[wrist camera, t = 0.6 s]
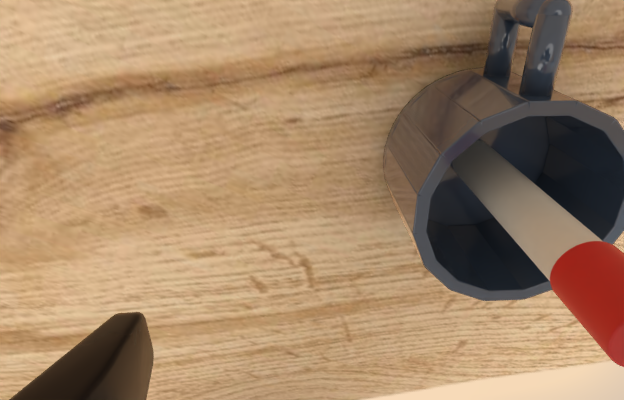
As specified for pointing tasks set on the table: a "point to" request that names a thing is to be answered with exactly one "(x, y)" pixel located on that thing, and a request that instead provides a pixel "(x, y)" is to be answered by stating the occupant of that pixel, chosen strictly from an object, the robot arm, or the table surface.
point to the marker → (553, 244)
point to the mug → (511, 146)
